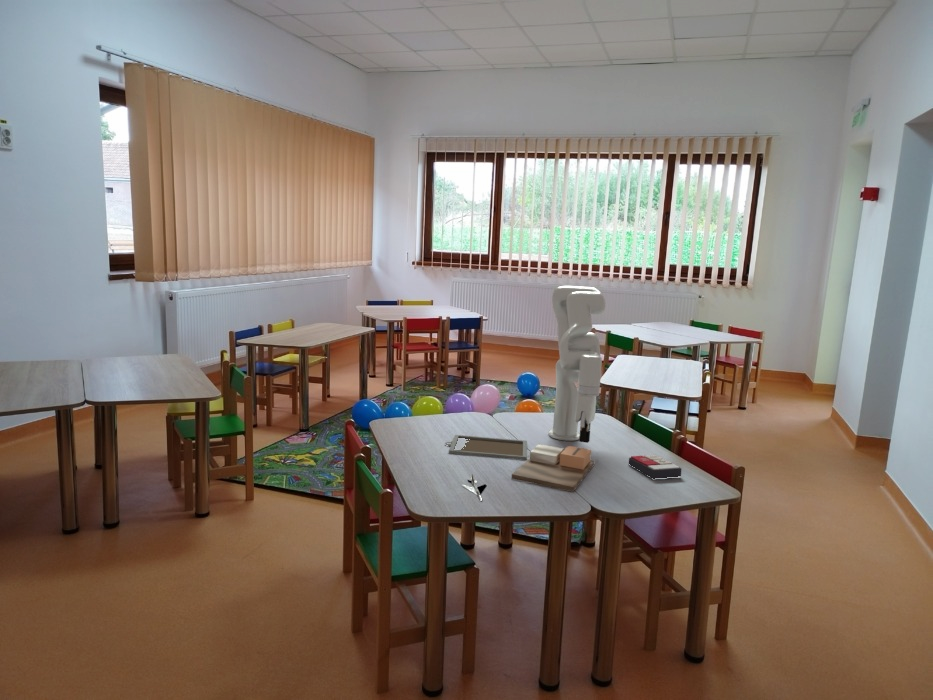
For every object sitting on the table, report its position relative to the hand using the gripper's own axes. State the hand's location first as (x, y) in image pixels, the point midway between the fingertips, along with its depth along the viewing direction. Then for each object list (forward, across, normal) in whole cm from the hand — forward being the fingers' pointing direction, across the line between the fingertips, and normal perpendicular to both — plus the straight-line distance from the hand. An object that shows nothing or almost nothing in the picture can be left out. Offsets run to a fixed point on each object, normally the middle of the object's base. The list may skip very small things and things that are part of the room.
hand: (584, 441), depth 220 cm
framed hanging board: (+7, +6, -34) cm, 36 cm away
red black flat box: (+8, -4, +24) cm, 25 cm away
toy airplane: (+9, +43, -22) cm, 49 cm away
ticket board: (+7, +15, -6) cm, 18 cm away
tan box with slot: (+5, +9, 0) cm, 11 cm away
